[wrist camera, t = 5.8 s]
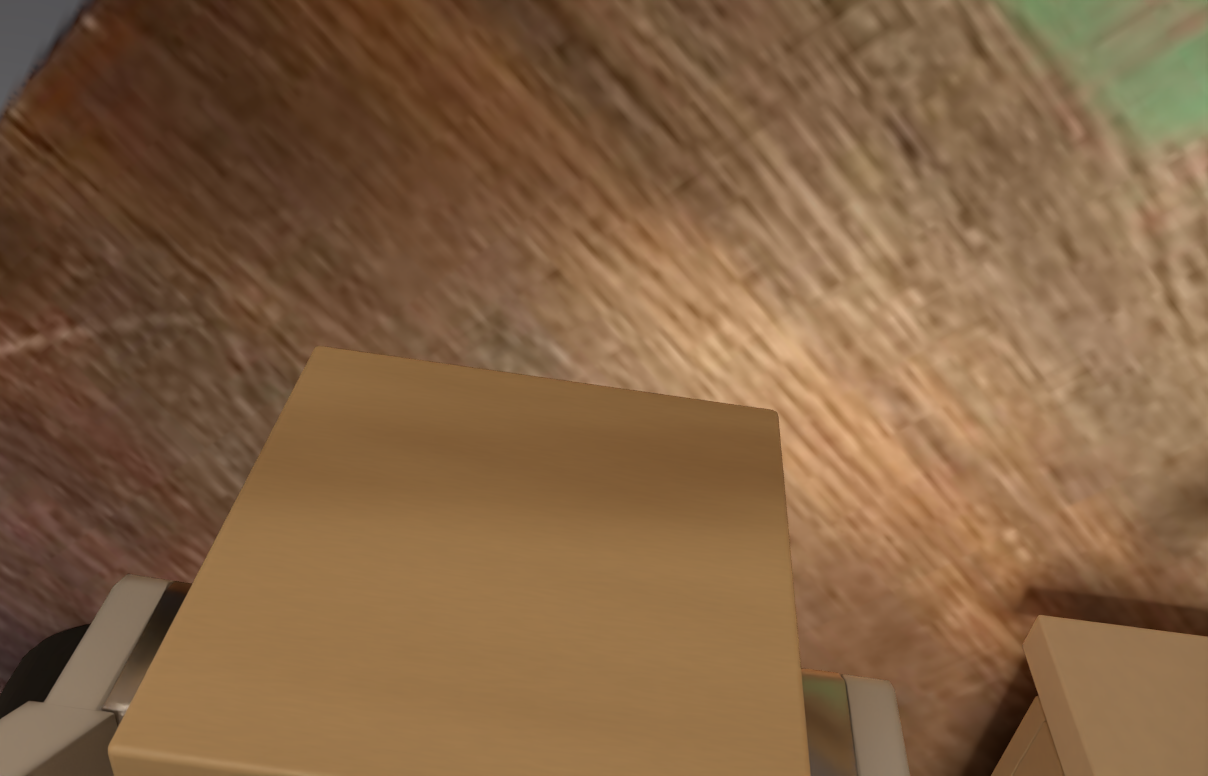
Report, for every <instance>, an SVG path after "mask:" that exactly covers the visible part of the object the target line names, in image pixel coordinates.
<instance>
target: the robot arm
mask: <svg viewBox="0 0 1208 776" xmlns="http://www.w3.org/2000/svg"><path fill="white" fill-rule="evenodd" d="M191 586H192V584H191V583H185V582H179V581H172V580H165V579H159V578H152V577H145V576H139V575H132V574H127V575H126V576H125V577H123V578H122V579H121V580H120V581H119V582H118V583H117V584H115V585H114V586H113V588H112V590H111V591H110V593H109V595H108V596H107V598H106V600H105V601H104V603H103V605H102V606H101V608H100V610H99V611H98V613H97V615H96V616H95V618H94V620H93V621H92V623H91V625H90V626H89V628H88V630H87V631H86V633H85V635H84V636H83V638H82V640H81V641H80V643H79V645H78V646H77V648H76V650H75V651H74V653H73V655H72V656H71V658H70V659H69V661H68V663H67V664H66V666H65V668H64V669H63V671H62V673H61V674H60V676H59V678H58V679H57V681H56V683H55V684H54V686H53V688H52V689H51V691H50V693H49V694H48V696H47V698H46V699H45V701H44V702H35V701H28V702H26V703H25V704H23V705H22V706H20V707H19V708H17V709H15V710H14V711H12V712H11V713H9V714H7V715H6V716H4V717H3V718H1V719H0V776H114V774H113V771H112V767H111V763H110V760H109V756H108V746H109V744H110V742H111V740H112V738H113V736H114V734H115V732H116V730H117V728H118V726H119V724H120V722H121V721H122V719H123V717H124V715H125V713H126V711H127V709H128V707H129V705H130V703H131V701H132V699H133V697H134V695H135V694H136V692H137V690H138V688H139V686H140V684H141V682H142V680H143V678H144V676H145V674H146V672H147V670H148V668H149V667H150V665H151V663H152V661H153V659H154V657H155V655H156V653H157V651H158V649H159V647H160V645H161V643H162V641H163V640H164V638H165V636H166V634H167V632H168V630H169V628H170V626H171V624H172V622H173V620H174V618H175V616H176V615H177V613H178V611H179V609H180V607H181V605H182V603H183V601H184V599H185V597H186V595H187V593H188V591H189V589H190V588H191ZM801 673H802V684H803V695H804V706H805V717H806V728H807V739H808V750H809V761H810V773H811V776H910V772H909V767H908V761H907V755H906V750H905V744H904V739H903V733H902V728H901V722H900V717H899V711H898V706H897V700H896V695H895V690H894V688H893V686H892V685H891V683H890V682H889V681H888V680H881V679H874V678H866V677H859V676H852V675H845V674H841V675H839V674H838V672H830V671H822V670H814V669H806V668H801Z"/></svg>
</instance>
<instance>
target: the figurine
mask: <svg viewBox="0 0 1208 776" xmlns="http://www.w3.org/2000/svg"><path fill="white" fill-rule="evenodd" d="M89 626H90V625H85V626H81V627H78V628H74V629H70V630H67V631H64V632H61V633H58V634H55V635H53V636H51V637H49V638H48V639H46V640H44V641H43V642H41V643H40V644H39V645H37V646H36V647H35V648H33V649H32V650H31V651H29V652H28V654H27V655H26V656H25V657H24V658H23V659H22V660H21V662H20V664H19V665H18V667H17V668H16V670H15V672H14V673H13V675H12V676H11V678H10V679H9V681H8V683H7V684H6V686H5V688H4V689H3V691H2V693H1V695H0V719H1V718H3V717H4V716H6V715H7V714H9V713H11V712H12V711H14V710H15V709H17V708H19V707H20V706H22V705H23V704H25V703H26V702H28V701H35V702H44V701H45V699H46V698H47V696H48V694H49V693H50V691H51V689H52V688H53V686H54V684H55V683H56V681H57V679H58V678H59V676H60V674H61V673H62V671H63V669H64V668H65V666H66V664H67V663H68V661H69V659H70V658H71V656H72V655H73V653H74V651H75V650H76V648H77V646H78V645H79V643H80V641H81V640H82V638H83V636H84V635H85V633H86V631H87V630H88V628H89Z"/></svg>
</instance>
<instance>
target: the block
mask: <svg viewBox="0 0 1208 776" xmlns="http://www.w3.org/2000/svg"><path fill="white" fill-rule="evenodd" d="M108 756H109V760H110V763H111V767H112V771H113V774H114V776H811V773H810V761H809V750H808V739H807V728H806V717H805V706H804V695H803V684H802V673H801V662H800V651H799V640H798V629H797V617H796V606H795V595H794V584H793V573H792V562H791V551H790V540H789V529H788V518H787V507H786V496H785V485H784V473H783V462H782V451H781V440H780V429H779V418H778V413H777V412H776V411H774V410H769V409H762V408H755V407H748V406H741V405H734V404H727V403H720V402H712V401H705V400H698V399H691V398H684V397H677V396H670V395H663V394H656V393H649V392H642V391H635V390H628V389H621V388H614V387H607V386H600V385H593V384H586V383H579V382H572V381H565V380H558V379H551V378H543V377H536V376H529V375H522V374H515V373H508V372H501V371H494V370H487V369H480V368H473V367H466V366H459V365H452V364H445V363H438V362H431V361H424V360H417V359H410V358H403V357H396V356H389V355H382V354H375V353H367V352H360V351H353V350H346V349H339V348H332V347H325V346H317V347H315V349H314V351H313V352H312V354H311V356H310V358H309V360H308V362H307V364H306V366H305V368H304V370H303V372H302V374H301V376H300V377H299V379H298V381H297V383H296V385H295V387H294V389H293V391H292V393H291V395H290V397H289V399H288V401H287V403H286V404H285V406H284V408H283V410H282V412H281V414H280V416H279V418H278V420H277V422H276V424H275V426H274V428H273V430H272V431H271V433H270V435H269V437H268V439H267V441H266V443H265V445H264V447H263V449H262V451H261V453H260V455H259V456H258V458H257V460H256V462H255V464H254V466H253V468H252V470H251V472H250V474H249V476H248V478H247V480H246V482H245V483H244V485H243V487H242V489H241V491H240V493H239V495H238V497H237V499H236V501H235V503H234V505H233V507H232V509H231V510H230V512H229V514H228V516H227V518H226V520H225V522H224V524H223V526H222V528H221V530H220V532H219V534H218V536H217V537H216V539H215V541H214V543H213V545H212V547H211V549H210V551H209V553H208V555H207V557H206V559H205V561H204V562H203V564H202V566H201V568H200V570H199V572H198V574H197V576H196V578H195V580H194V582H193V584H192V586H191V588H190V589H189V591H188V593H187V595H186V597H185V599H184V601H183V603H182V605H181V607H180V609H179V611H178V613H177V615H176V616H175V618H174V620H173V622H172V624H171V626H170V628H169V630H168V632H167V634H166V636H165V638H164V640H163V641H162V643H161V645H160V647H159V649H158V651H157V653H156V655H155V657H154V659H153V661H152V663H151V665H150V667H149V668H148V670H147V672H146V674H145V676H144V678H143V680H142V682H141V684H140V686H139V688H138V690H137V692H136V694H135V695H134V697H133V699H132V701H131V703H130V705H129V707H128V709H127V711H126V713H125V715H124V717H123V719H122V721H121V722H120V724H119V726H118V728H117V730H116V732H115V734H114V736H113V738H112V740H111V742H110V744H109V746H108Z"/></svg>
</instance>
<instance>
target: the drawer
mask: <svg viewBox="0 0 1208 776" xmlns="http://www.w3.org/2000/svg"><path fill="white" fill-rule="evenodd" d="M1022 646H1023V650H1024V653H1025V656H1026V659H1027V662H1028V665H1029V668H1030V671H1031V674H1032V677H1033V680H1034V683H1035V686H1036V689H1037V692H1038V695H1039V696H1036V697H1035V699H1034V700H1033V702H1032V704H1031V706H1030V707H1029V709H1028V711H1027V713H1026V714H1025V716H1024V718H1023V720H1022V722H1021V723H1020V725H1019V727H1018V729H1017V730H1016V732H1015V734H1014V736H1013V737H1012V739H1011V741H1010V743H1009V744H1008V746H1007V748H1006V750H1005V752H1004V753H1003V755H1002V757H1001V759H1000V760H999V762H998V764H997V766H996V767H995V769H994V771H993V773H992V775H991V776H1208V637H1207V636H1199V635H1191V634H1184V633H1176V632H1168V631H1161V630H1153V629H1145V628H1138V627H1130V626H1122V625H1114V624H1107V623H1099V622H1091V621H1084V620H1076V619H1068V618H1060V617H1053V616H1045V615H1038V616H1037V618H1036V620H1035V622H1034V624H1033V625H1032V627H1031V629H1030V631H1029V633H1028V635H1027V637H1026V639H1025V640H1024V642H1023V645H1022Z"/></svg>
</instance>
